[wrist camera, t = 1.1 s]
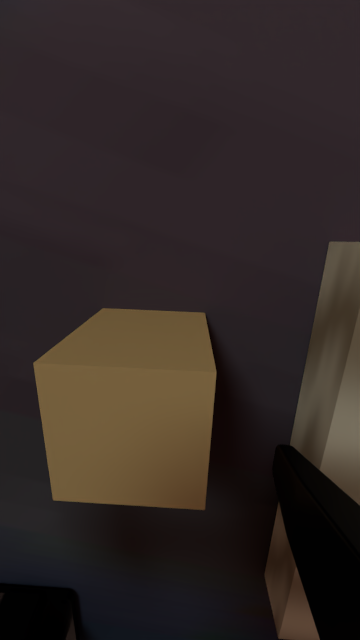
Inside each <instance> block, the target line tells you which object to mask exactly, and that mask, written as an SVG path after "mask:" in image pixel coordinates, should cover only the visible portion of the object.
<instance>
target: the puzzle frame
mask: <svg viewBox="0 0 360 640" xmlns="http://www.w3.org/2000/svg"><path fill="white" fill-rule="evenodd" d="M290 445H291V446H293V447H294V448H295V449H296V450H298V451H299V452H300V453H301V454H302V455H303V456H304V457H306V458H307V459H308V460H309V461H310V462H311V463H312V464H314V465H315V466H316V467H317V468H318V469H319V470H320V471H321V472H323V473H324V474H325V475H326V476H327V477H328V478H329V479H331V480H332V481H333V482H334V483H335V484H336V485H337V486H338V487H340V488H341V489H342V490H343V491H344V492H345V493H346V494H348V495H349V496H350V497H351V498H352V499H353V500H354V501H356V502H357V503H358V504H359V505H360V242H329V247H328V252H327V257H326V262H325V268H324V273H323V278H322V283H321V288H320V293H319V298H318V303H317V308H316V314H315V319H314V324H313V329H312V334H311V339H310V344H309V349H308V354H307V360H306V365H305V370H304V375H303V380H302V385H301V390H300V395H299V400H298V406H297V411H296V416H295V421H294V426H293V431H292V436H291V441H290ZM264 576H265V580H266V585H267V589H268V594H269V598H270V603H271V608H272V612H273V617H274V621H275V626H276V630H277V635H278V639H290V640H320V638H319V635H318V632H317V629H316V626H315V623H314V620H313V617H312V614H311V610H310V607H309V604H308V601H307V598H306V595H305V592H304V589H303V586H302V582H301V579H300V576H299V573H298V570H297V567H296V564H295V561H294V558H293V555H292V551H291V548H290V545H289V542H288V538H287V535H286V531H285V527H284V522H283V518H282V513H281V509H280V504H279V503H278V508H277V513H276V518H275V523H274V528H273V533H272V538H271V544H270V549H269V554H268V559H267V564H266V569H265V574H264Z"/></svg>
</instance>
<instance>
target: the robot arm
mask: <svg viewBox="0 0 360 640" xmlns="http://www.w3.org/2000/svg"><path fill="white" fill-rule="evenodd" d="M272 470H273V477H274V482H275V486H276V491H277V495H278V500H279V504H280V509H281V513H282V518H283V522H284V527H285V531H286V535H287V538H288V542H289V545H290V548H291V551H292V555H293V558H294V561H295V564H296V567H297V570H298V573H299V576H300V579H301V582H302V586H303V589H304V592H305V595H306V598H307V601H308V604H309V607H310V610H311V614H312V617H313V620H314V623H315V626H316V629H317V632H318V635H319V638H320V640H360V505H359V504H358V503H357V502H356V501H354V500H353V499H352V498H351V497H350V496H349V495H348V494H346V493H345V492H344V491H343V490H342V489H341V488H340V487H338V486H337V485H336V484H335V483H334V482H333V481H332V480H331V479H329V478H328V477H327V476H326V475H325V474H324V473H323V472H321V471H320V470H319V469H318V468H317V467H316V466H315V465H314V464H312V463H311V462H310V461H309V460H308V459H307V458H306V457H304V456H303V455H302V454H301V453H300V452H299V451H298V450H296V449H295V448H294V447H293V446H291V445H277V447H276V450H275V456H274V461H273V469H272ZM0 640H79V633H78V626H77V618H76V611H75V603H74V596H73V593H72V592H70V591H68V590H57V589H43V588H29V587H16V586H2V585H0Z"/></svg>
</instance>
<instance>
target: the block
mask: <svg viewBox="0 0 360 640" xmlns="http://www.w3.org/2000/svg"><path fill="white" fill-rule="evenodd" d="M33 364H34V371H35V378H36V385H37V392H38V399H39V406H40V413H41V420H42V427H43V433H44V440H45V447H46V454H47V461H48V468H49V475H50V482H51V489H52V496H53V500H56V501H71V502H87V503H103V504H118V505H134V506H149V507H165V508H181V509H196V510H205V502H206V490H207V478H208V467H209V455H210V443H211V432H212V420H213V408H214V396H215V385H216V373H217V372H216V367H215V362H214V357H213V352H212V346H211V341H210V336H209V331H208V326H207V321H206V316H205V313H197V312H174V311H151V310H128V309H105V308H103V309H102V310H100V311H99V312H98V313H97V314H95V315H94V316H93V317H91V318H90V319H89V320H88V321H86V322H85V323H84V324H82V325H81V326H80V327H79V328H77V329H76V330H75V331H74V332H72V333H71V334H70V335H68V336H67V337H66V338H65V339H63V340H62V341H61V342H60V343H58V344H57V345H56V346H54V347H53V348H52V349H51V350H49V351H48V352H47V353H46V354H44V355H43V356H42V357H40V358H39V359H38V360H37V361H35V362H34V363H33Z"/></svg>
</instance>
